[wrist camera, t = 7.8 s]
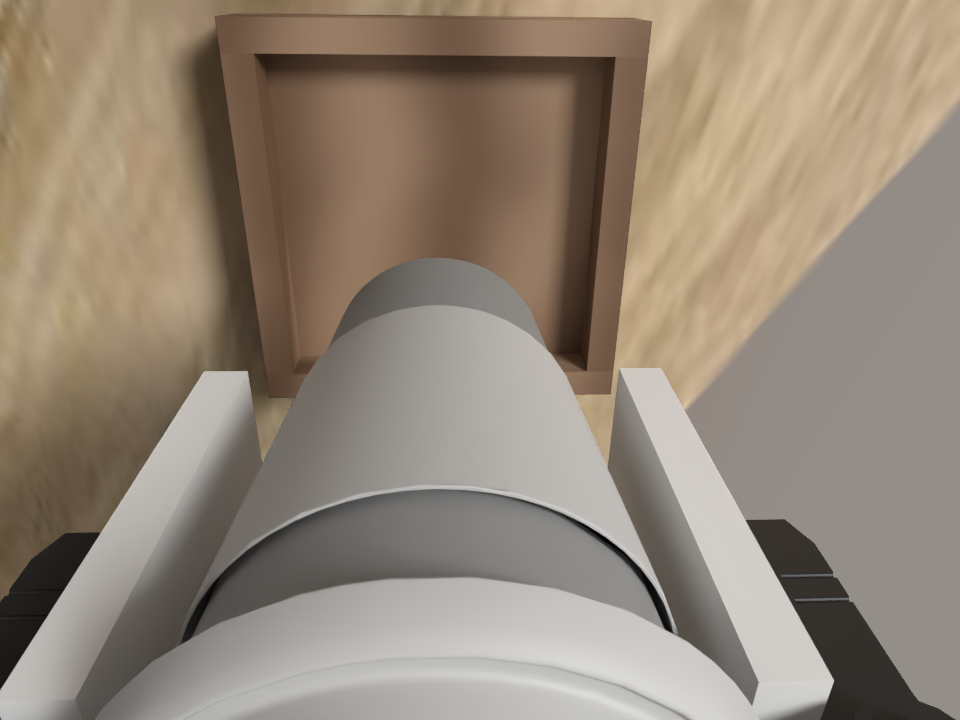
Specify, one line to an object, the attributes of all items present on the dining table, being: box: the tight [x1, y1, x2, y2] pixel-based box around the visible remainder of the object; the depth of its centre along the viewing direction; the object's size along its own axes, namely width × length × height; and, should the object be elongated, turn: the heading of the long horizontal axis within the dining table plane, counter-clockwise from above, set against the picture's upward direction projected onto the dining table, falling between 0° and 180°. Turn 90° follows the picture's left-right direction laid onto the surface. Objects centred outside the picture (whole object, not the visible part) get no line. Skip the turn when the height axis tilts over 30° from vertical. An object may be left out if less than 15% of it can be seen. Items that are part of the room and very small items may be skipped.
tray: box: [215, 14, 652, 398], centre depth 25 cm, size 13×13×2 cm
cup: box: [94, 258, 760, 720], centre depth 11 cm, size 7×7×12 cm
